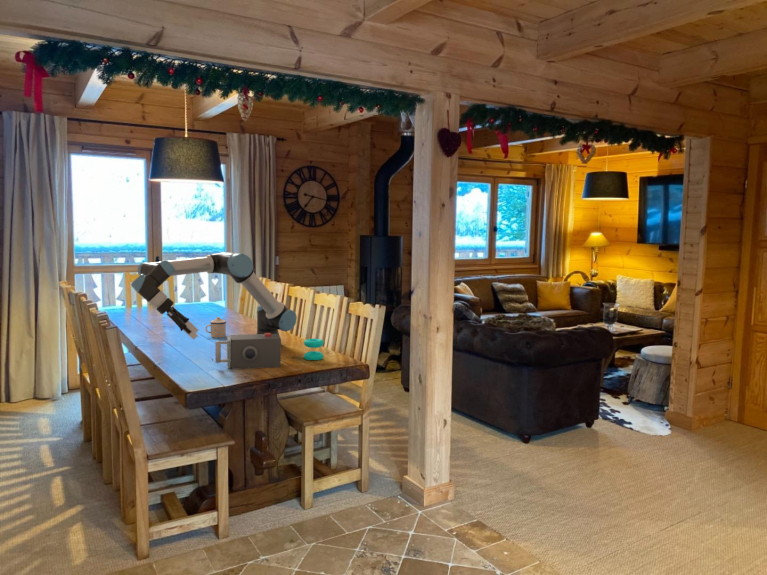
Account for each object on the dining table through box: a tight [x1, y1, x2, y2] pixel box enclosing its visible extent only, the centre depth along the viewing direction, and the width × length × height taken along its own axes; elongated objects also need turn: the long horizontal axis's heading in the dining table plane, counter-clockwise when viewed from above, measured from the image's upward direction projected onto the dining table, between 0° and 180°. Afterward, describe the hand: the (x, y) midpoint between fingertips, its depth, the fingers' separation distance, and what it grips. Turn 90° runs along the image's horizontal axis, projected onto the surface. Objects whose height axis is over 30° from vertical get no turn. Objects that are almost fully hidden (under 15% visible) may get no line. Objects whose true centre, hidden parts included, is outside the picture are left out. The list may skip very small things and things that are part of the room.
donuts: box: [303, 338, 325, 361], centre depth 312 cm, size 10×10×10 cm
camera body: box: [230, 333, 282, 370], centre depth 295 cm, size 14×23×15 cm, turn 106°
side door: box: [214, 335, 231, 369], centre depth 293 cm, size 13×7×13 cm, turn 16°
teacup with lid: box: [205, 316, 227, 339], centre depth 362 cm, size 12×9×12 cm
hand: (196, 334), depth 284 cm, fingers open, 13 cm apart
